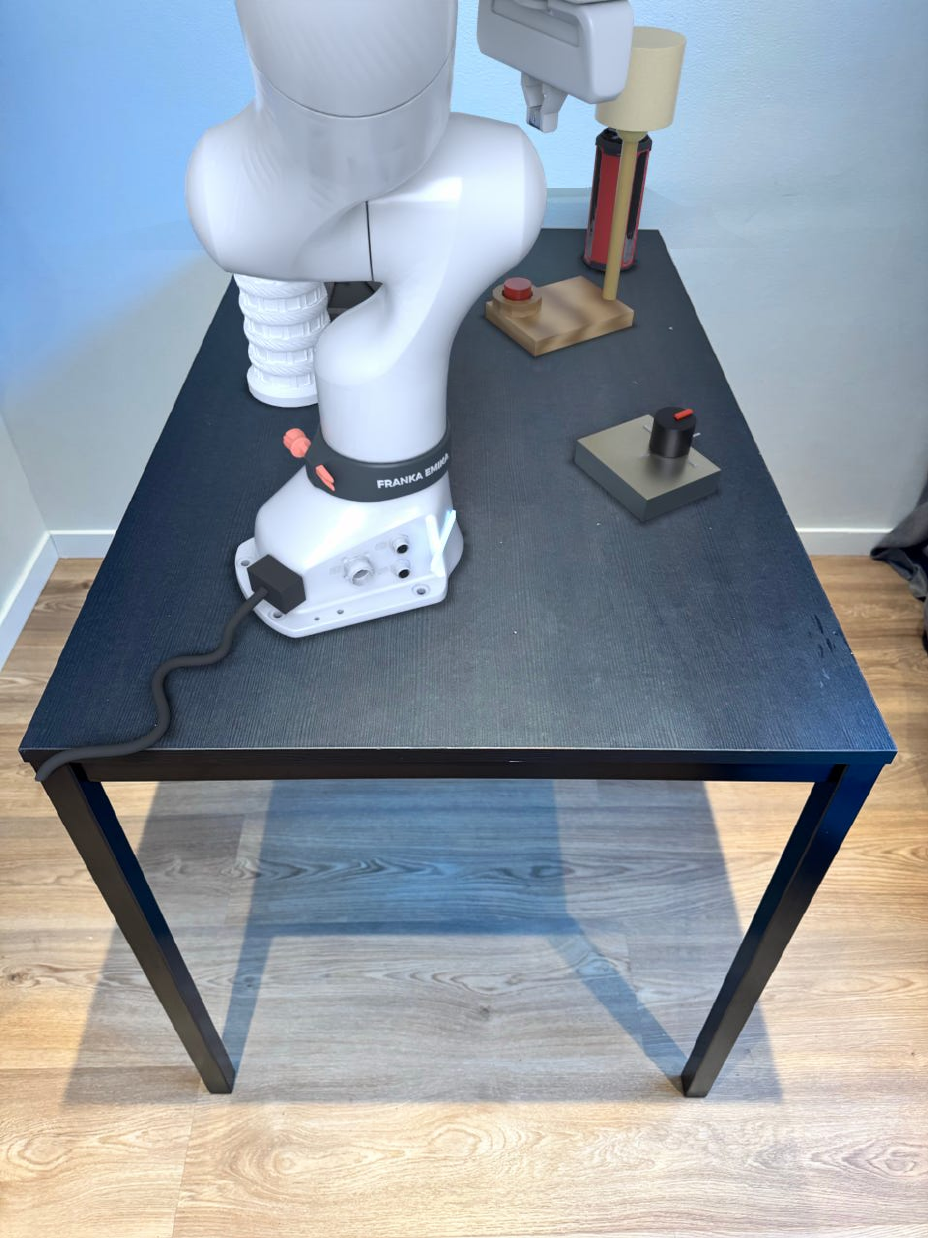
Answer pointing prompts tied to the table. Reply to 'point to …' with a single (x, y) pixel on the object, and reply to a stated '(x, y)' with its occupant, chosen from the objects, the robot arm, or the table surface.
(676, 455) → the dimmer knob
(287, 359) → the decorative container
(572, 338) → the lamp base
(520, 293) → the lamp switch
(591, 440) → the block
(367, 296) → the picture frame
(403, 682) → the table surface
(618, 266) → the lamp
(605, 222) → the speaker
